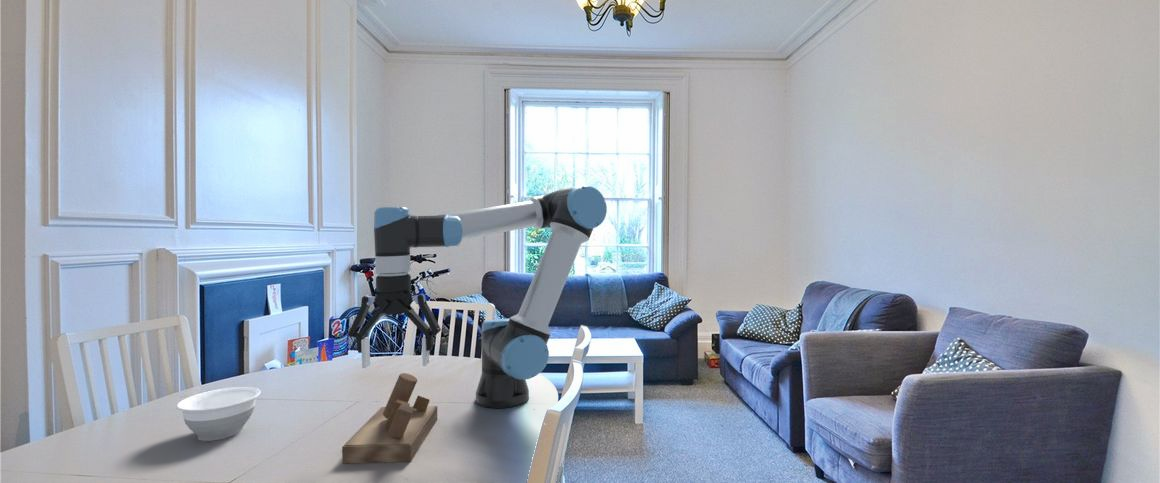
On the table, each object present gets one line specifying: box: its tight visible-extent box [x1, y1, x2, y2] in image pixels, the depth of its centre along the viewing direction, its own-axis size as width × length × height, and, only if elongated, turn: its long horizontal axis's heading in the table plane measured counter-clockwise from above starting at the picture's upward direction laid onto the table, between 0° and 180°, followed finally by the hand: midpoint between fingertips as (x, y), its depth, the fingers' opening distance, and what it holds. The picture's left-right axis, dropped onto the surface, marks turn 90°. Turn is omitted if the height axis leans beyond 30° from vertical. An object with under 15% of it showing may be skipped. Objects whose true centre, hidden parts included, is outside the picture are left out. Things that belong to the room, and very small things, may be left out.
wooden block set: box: [383, 372, 431, 439], centre depth 108 cm, size 18×9×10 cm, turn 6°
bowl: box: [176, 386, 262, 442], centre depth 112 cm, size 16×16×9 cm
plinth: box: [341, 405, 438, 464], centre depth 108 cm, size 14×22×4 cm, turn 3°
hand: (396, 365), depth 108 cm, fingers open, 13 cm apart
